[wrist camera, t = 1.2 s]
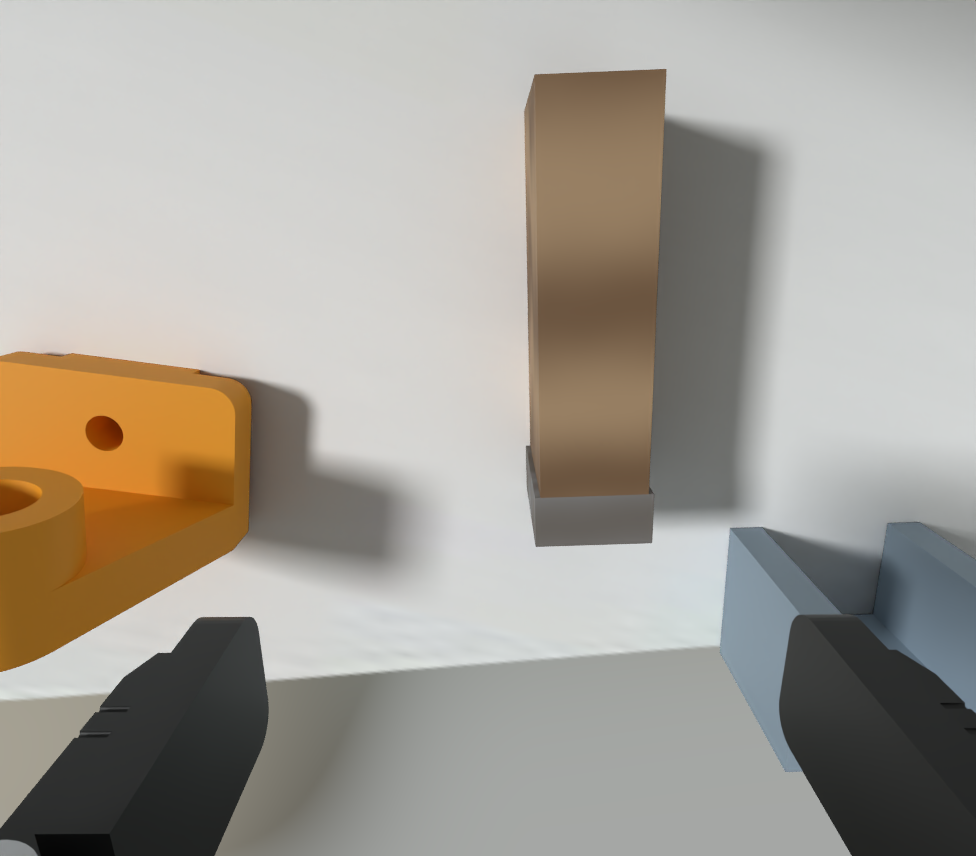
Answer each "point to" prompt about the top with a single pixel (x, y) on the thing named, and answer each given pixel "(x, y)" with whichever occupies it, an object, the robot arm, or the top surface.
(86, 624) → the bracket
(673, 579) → the top surface
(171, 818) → the robot arm
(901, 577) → the grey u-channel
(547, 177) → the rail
